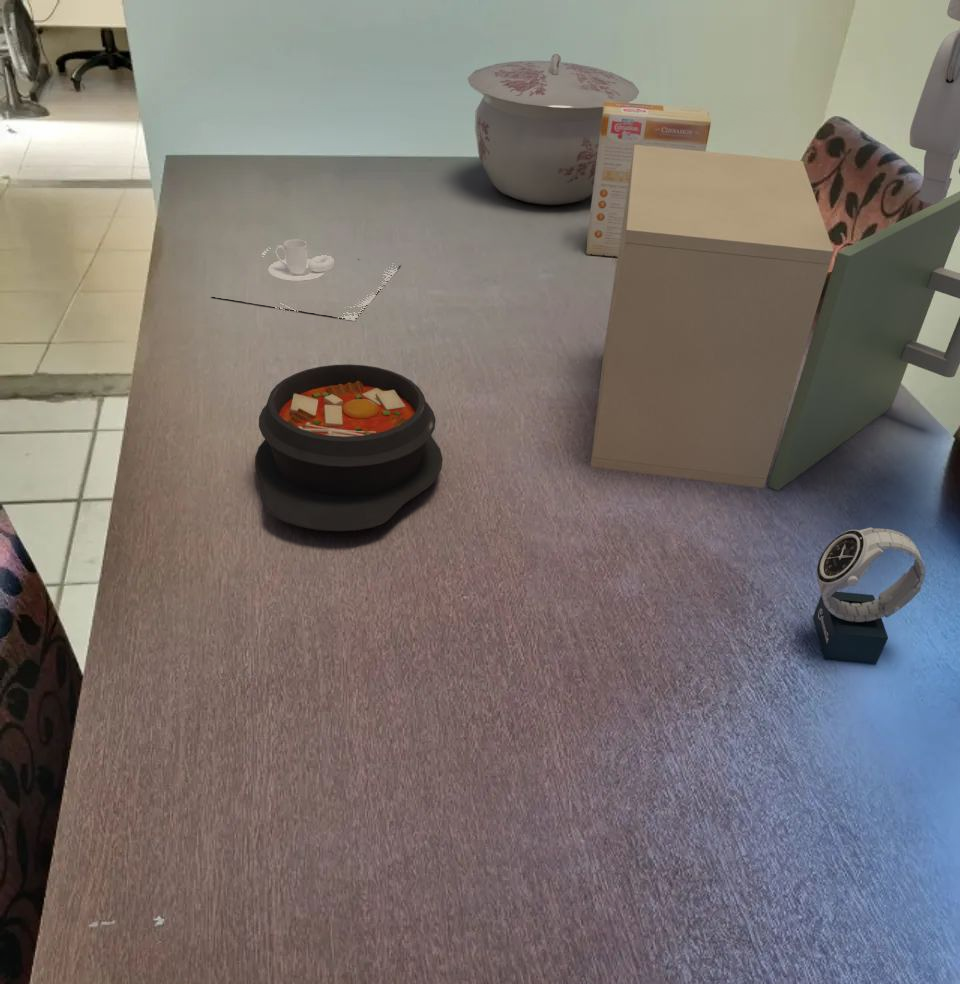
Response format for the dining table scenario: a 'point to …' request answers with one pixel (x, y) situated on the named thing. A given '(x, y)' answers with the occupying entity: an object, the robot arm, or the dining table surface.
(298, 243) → the teacup and saucer
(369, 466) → the casserole
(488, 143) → the chamber pot
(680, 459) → the cupboard
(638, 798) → the dining table surface
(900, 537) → the watch
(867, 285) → the cupboard door
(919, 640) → the dining table surface
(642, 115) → the coffeecake box
